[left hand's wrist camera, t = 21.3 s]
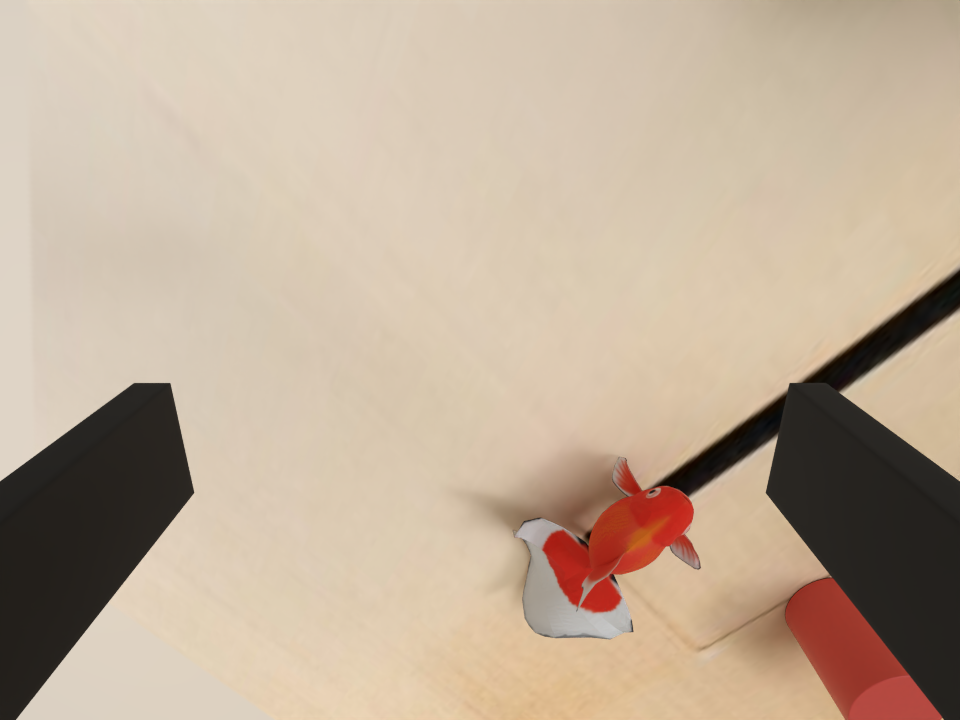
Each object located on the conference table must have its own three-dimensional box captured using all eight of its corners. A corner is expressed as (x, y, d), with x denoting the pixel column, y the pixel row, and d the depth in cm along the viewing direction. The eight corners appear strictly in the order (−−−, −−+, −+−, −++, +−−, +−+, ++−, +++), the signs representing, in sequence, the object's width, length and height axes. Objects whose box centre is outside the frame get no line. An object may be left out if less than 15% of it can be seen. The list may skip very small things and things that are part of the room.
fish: (765, 574, 38) (737, 688, 30) (574, 600, 47) (514, 692, 39) (689, 429, 38) (641, 505, 30) (513, 485, 47) (440, 553, 39)
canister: (829, 564, 43) (905, 661, 36) (884, 602, 45) (969, 703, 37) (768, 615, 45) (827, 718, 37) (822, 649, 47) (891, 756, 39)
